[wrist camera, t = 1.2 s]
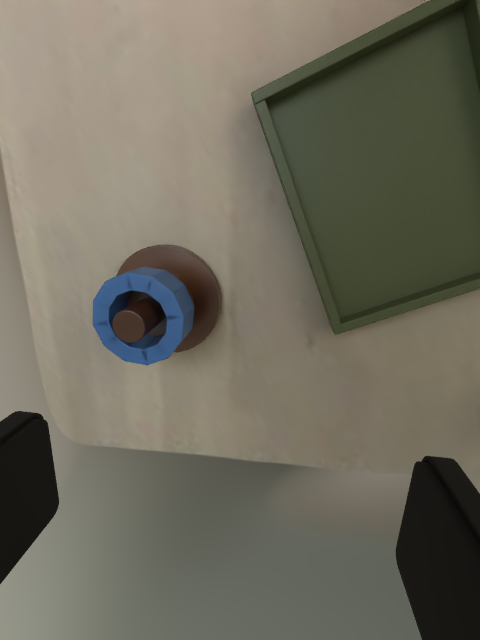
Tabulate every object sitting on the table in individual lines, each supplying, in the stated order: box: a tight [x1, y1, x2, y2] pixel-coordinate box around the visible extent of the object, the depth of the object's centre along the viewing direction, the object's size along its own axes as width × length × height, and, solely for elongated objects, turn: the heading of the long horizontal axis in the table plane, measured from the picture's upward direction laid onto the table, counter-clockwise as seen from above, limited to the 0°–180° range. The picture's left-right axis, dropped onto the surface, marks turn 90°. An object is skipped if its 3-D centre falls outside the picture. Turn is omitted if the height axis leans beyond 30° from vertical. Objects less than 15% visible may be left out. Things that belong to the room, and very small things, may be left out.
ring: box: [93, 267, 194, 365], centre depth 26 cm, size 7×7×3 cm
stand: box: [113, 245, 221, 352], centre depth 27 cm, size 10×10×9 cm
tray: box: [251, 0, 480, 335], centre depth 25 cm, size 20×16×2 cm
